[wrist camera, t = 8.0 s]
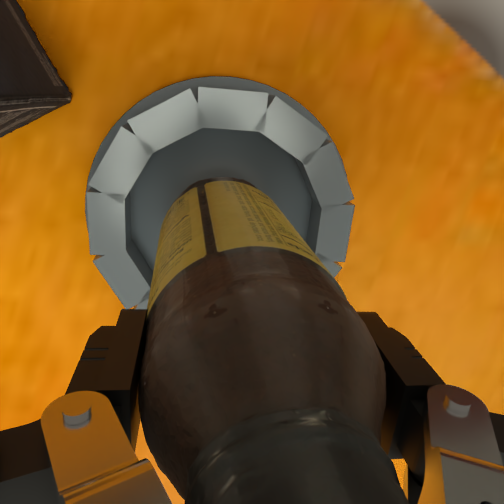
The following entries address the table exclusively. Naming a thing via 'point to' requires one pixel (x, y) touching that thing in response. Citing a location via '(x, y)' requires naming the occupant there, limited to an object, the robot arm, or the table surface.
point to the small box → (25, 73)
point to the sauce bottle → (257, 362)
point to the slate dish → (210, 172)
